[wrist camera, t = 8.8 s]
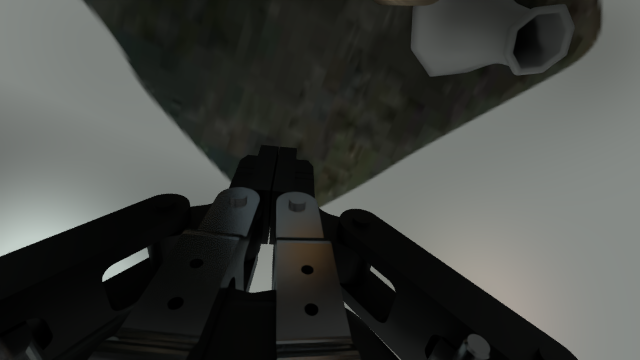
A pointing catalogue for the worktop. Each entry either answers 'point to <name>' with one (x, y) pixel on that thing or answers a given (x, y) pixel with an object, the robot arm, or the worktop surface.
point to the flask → (489, 36)
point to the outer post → (406, 2)
